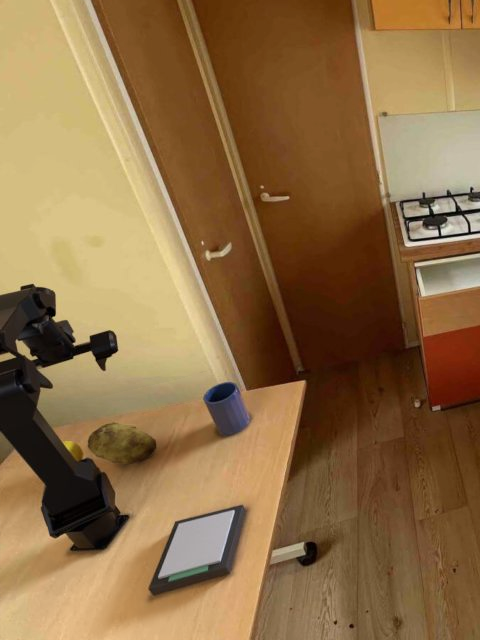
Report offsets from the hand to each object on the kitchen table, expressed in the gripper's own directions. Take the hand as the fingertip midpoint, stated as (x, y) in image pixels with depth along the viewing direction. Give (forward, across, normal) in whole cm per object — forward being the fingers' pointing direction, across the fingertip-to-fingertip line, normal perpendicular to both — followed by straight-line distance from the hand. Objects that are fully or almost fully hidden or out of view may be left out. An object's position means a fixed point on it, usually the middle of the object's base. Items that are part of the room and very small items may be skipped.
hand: (78, 378), depth 99 cm
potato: (+12, -4, +18) cm, 22 cm away
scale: (+2, -16, +52) cm, 54 cm away
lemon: (+12, +6, +15) cm, 20 cm away
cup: (+10, -25, +23) cm, 35 cm away
